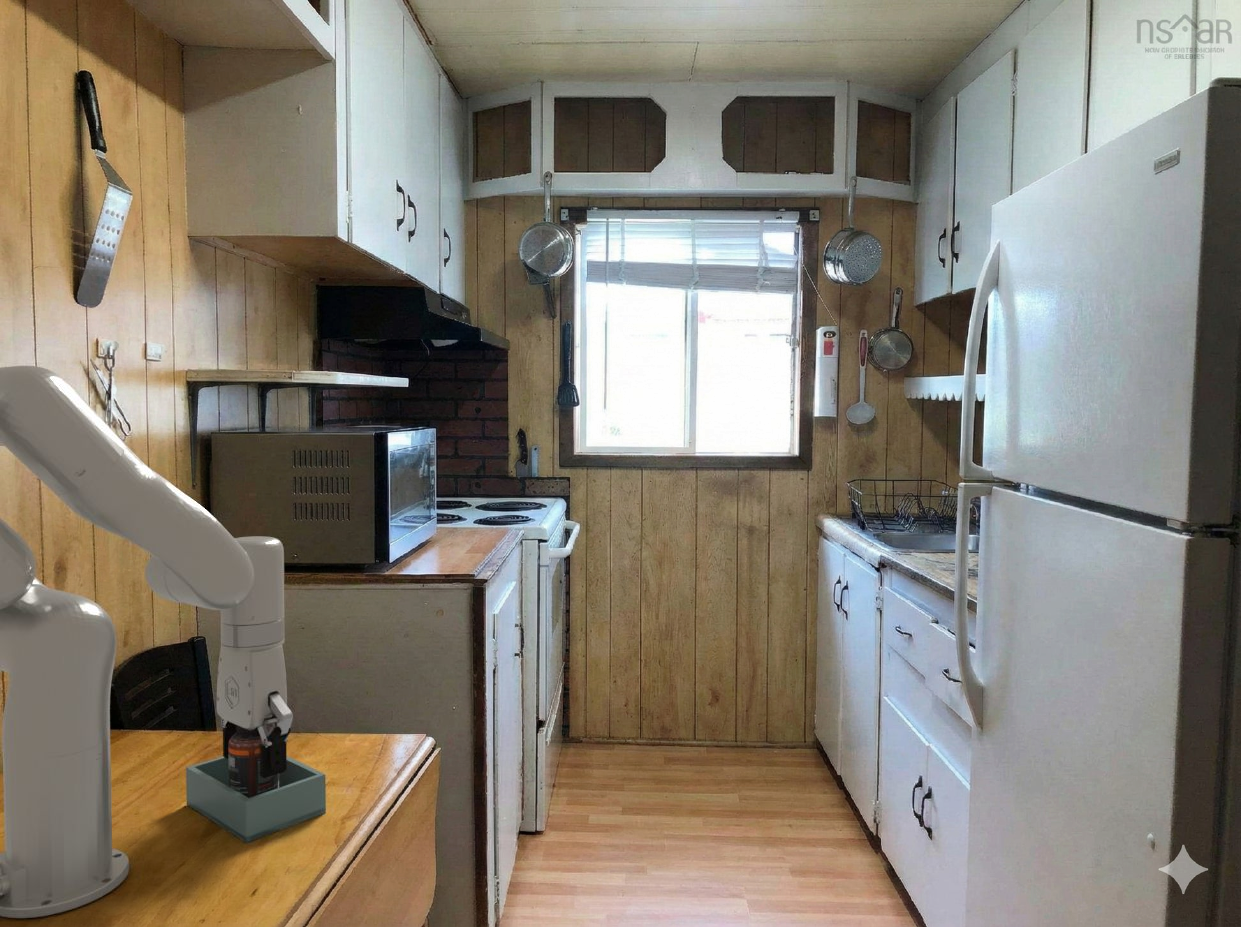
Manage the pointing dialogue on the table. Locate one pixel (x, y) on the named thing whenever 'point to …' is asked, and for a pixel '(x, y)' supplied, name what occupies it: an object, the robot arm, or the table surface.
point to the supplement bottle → (248, 764)
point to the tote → (255, 799)
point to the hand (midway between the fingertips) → (254, 764)
